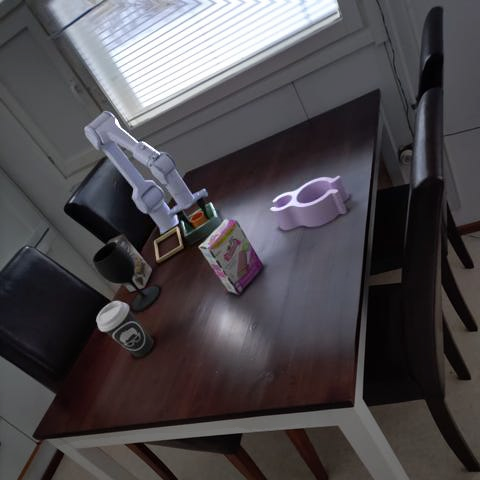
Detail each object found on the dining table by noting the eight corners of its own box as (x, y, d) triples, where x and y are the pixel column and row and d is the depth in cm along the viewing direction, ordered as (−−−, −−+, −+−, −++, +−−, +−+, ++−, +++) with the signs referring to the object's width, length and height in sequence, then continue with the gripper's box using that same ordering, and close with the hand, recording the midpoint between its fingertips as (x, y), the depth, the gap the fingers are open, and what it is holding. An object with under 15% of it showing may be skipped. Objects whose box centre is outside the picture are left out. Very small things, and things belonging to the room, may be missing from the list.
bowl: (196, 227, 158) (189, 217, 155) (208, 219, 157) (202, 209, 154) (198, 234, 154) (191, 223, 151) (211, 226, 153) (204, 215, 150)
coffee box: (145, 287, 148) (113, 251, 138) (130, 292, 151) (98, 257, 141) (153, 269, 154) (123, 233, 144) (138, 274, 157) (108, 239, 147)
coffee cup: (163, 332, 125) (129, 295, 116) (149, 360, 120) (113, 324, 110) (138, 335, 130) (104, 301, 121) (124, 362, 125) (87, 328, 116)
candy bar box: (240, 295, 119) (208, 249, 109) (228, 292, 123) (196, 247, 113) (265, 266, 122) (237, 219, 112) (253, 263, 126) (224, 217, 116)
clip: (277, 237, 129) (267, 218, 125) (285, 211, 137) (275, 192, 133) (345, 218, 119) (336, 197, 115) (349, 191, 127) (341, 170, 123)
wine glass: (136, 316, 138) (93, 269, 126) (129, 302, 146) (87, 257, 134) (163, 294, 139) (122, 246, 127) (154, 282, 147) (115, 235, 135)
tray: (156, 244, 166) (153, 241, 165) (179, 229, 164) (177, 226, 163) (159, 264, 154) (156, 261, 153) (184, 249, 153) (181, 245, 152)
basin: (186, 230, 162) (180, 221, 159) (216, 211, 160) (210, 202, 157) (191, 246, 152) (184, 236, 149) (223, 226, 150) (217, 216, 147)
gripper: (161, 207, 144) (184, 239, 152) (199, 182, 142) (221, 216, 150) (159, 198, 150) (182, 230, 158) (196, 175, 148) (217, 208, 156)
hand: (200, 223), depth 154 cm, fingers closed on bowl, 5 cm apart
